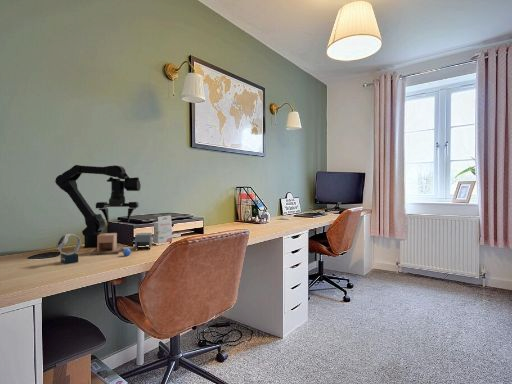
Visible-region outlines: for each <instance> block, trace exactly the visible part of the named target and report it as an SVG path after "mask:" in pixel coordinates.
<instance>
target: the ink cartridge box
mask: <svg viewBox="0 0 512 384" xmlns="http://www.w3.org/2000/svg"><path fill="white" fill-rule="evenodd" d="M153 224H154V234H153V233H152V243H153V242H154V243H158V244H159V243H166V242H172V243H173V237H172V236H173V229H172V228H173V226H172V225H173V223H172V215H164V216H158V217H157V221H152V225H153Z"/></svg>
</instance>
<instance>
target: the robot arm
mask: <svg viewBox="0 0 512 384" xmlns="http://www.w3.org/2000/svg"><path fill="white" fill-rule="evenodd" d="M82 174H93V175H105V176H108V177H109V178H108V179H107V180H106V182H108V183H111V184H110V185H111V186H110V189H111V190H110V191H111V192H110V197H109V199H108V202H107V201H98V202H96V203H95V209H98V211H101V212H102V214H103V216H104V217H103V216H102V214H101V213H95V212H94V210H93V209H92V207H91V205H89V203H88V202H87V201H86V199H85V198H84V196H83V195H82V193H81V192H80V190H79V189H78V183H77V181H78V180H79V178H80V177H81V176H82ZM54 182H55V184H56V185H57V186H58V187H59V188H60V189H61V190H62V191H64V192H65V193H67V194H68V196H69V197H70V199H71V201H72V202H73V204H75V206H76V207H77V209H78V210H79V212H80V213H81V215H82V216H83V217H84V224H85V225H86V226H85V228H84V229H83V230H82V231H81V233H82V236H84V237H83V238H84V241H83V242H84V243H83V244H84V246H83V247H82V248H83V249H86V248H87V249H89V248H92V249H93V248H97V236H98V235H100V234H101V233H102V232H103V229H105V227H106V223H109V219H110V218H109V208H113V207H115V208H116V207H117V208H122V207H123V208H124V207H126V208H127V218H126V222H127V223H129V222H130V218H131V216H132V213H133V212H134V210H136V209H137V208H139V207H140V203H139V202H138V201H129V202H126V196H125V190H126V192H140V190H141V187H142V186H141V181H140V177H139V176H138V177H130V176H129V175H128V174H127V173H126V169H125V168H124V167H123V166H121V165H117V164H116V165H108V166H92V165H91V166H90V165H79V164H75V165H73V166H72V167H71V168H69V169H67V170H66V171H64V172H62V174H59V175H58V176H56V178H55V180H54ZM104 218H105V219H104ZM105 221H106V222H105Z"/></svg>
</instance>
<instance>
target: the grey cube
mask: <svg viewBox="0 0 512 384" xmlns="http://www.w3.org/2000/svg"><path fill="white" fill-rule="evenodd" d="M152 244H153V232H137V233H135V236H134V250H135V249H137V248H138V246H146V245H149V247H148V249H149V248H150V247H151V245H152ZM152 246H153V245H152ZM151 248H152V247H151ZM138 249H139V248H138ZM138 249H137V250H138Z"/></svg>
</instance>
